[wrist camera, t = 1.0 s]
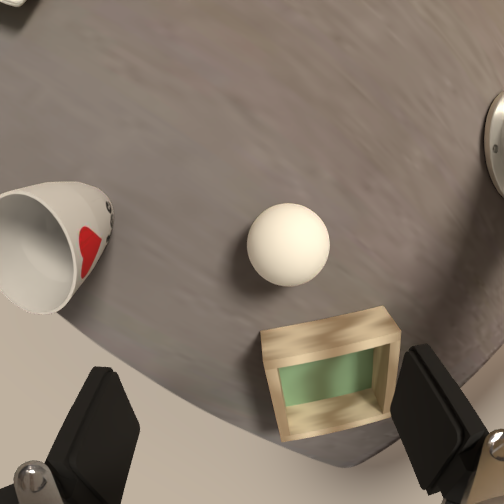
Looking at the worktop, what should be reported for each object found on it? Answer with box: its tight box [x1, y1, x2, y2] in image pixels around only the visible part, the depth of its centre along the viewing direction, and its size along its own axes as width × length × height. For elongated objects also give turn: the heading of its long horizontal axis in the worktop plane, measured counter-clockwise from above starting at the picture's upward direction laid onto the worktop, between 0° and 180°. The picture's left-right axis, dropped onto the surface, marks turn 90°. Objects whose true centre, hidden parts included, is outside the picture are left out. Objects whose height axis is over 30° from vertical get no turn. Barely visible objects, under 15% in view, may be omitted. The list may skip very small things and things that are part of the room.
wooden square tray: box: [260, 306, 401, 442], centre depth 29 cm, size 12×12×4 cm
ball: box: [247, 203, 330, 286], centre depth 24 cm, size 6×6×6 cm
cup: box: [0, 182, 114, 315], centre depth 21 cm, size 8×8×10 cm
